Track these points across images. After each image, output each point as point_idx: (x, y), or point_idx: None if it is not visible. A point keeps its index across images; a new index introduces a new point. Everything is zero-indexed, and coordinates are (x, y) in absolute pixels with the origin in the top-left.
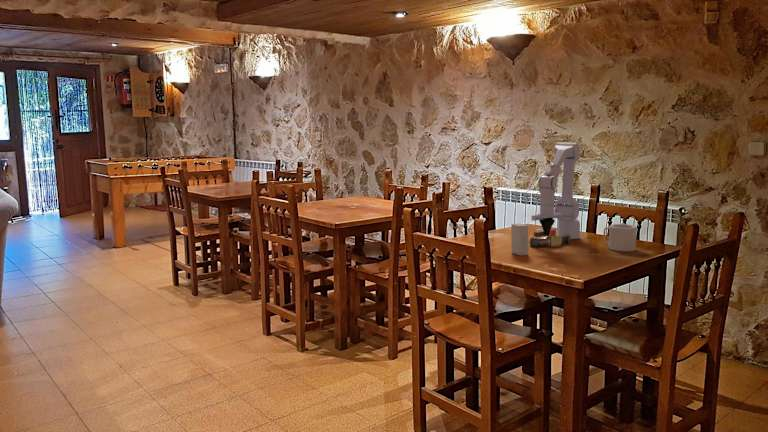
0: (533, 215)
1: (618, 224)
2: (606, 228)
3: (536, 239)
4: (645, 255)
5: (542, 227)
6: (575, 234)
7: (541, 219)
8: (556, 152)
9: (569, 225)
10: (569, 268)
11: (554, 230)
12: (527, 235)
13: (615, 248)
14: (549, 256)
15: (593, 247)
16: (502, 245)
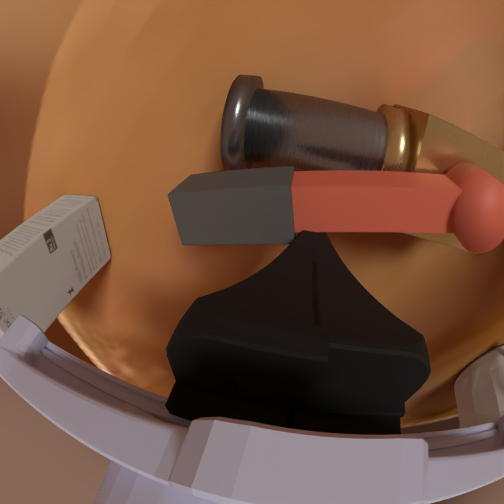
0: (2, 377)
1: None
2: None
3: (234, 168)
4: (435, 414)
5: (276, 258)
6: None
7: (148, 401)
8: None
9: None
10: (160, 387)
11: (467, 248)
12: (51, 318)
13: (457, 384)
14: (180, 319)
15: (485, 321)
16: (103, 10)
